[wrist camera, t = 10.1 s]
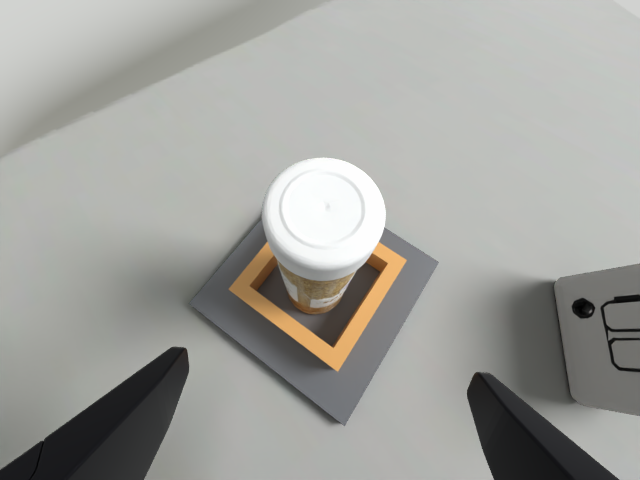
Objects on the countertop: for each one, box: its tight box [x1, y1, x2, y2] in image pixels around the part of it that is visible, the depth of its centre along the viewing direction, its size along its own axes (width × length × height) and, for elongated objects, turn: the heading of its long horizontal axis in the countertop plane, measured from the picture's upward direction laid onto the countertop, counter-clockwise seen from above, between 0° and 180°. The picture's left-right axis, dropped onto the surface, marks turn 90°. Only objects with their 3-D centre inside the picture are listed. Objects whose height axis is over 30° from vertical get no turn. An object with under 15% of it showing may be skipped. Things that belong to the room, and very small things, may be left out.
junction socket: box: [189, 219, 439, 426], centre depth 22 cm, size 14×14×3 cm
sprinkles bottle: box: [262, 158, 386, 314], centre depth 17 cm, size 5×5×13 cm
